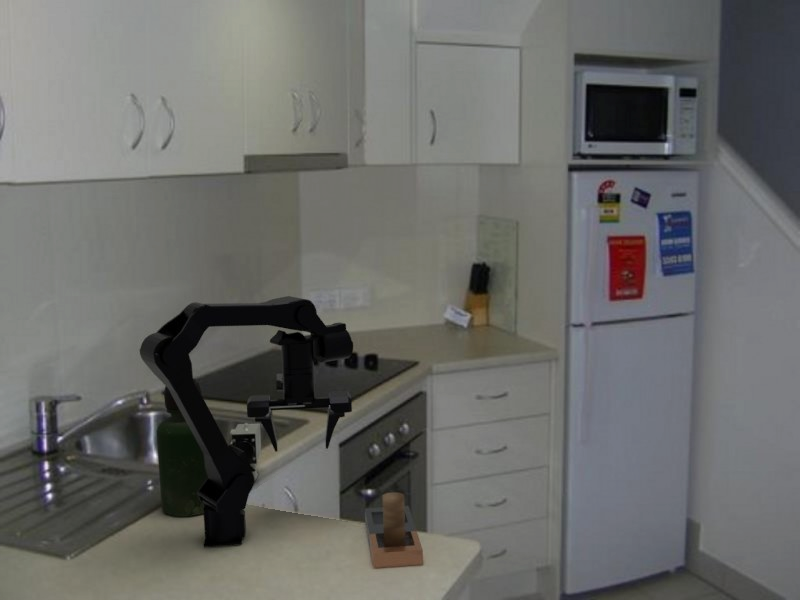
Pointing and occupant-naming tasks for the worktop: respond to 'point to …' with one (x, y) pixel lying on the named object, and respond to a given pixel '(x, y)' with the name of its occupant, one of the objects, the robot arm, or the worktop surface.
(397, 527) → the walnut peg
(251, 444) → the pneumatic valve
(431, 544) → the worktop surface
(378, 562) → the grey copper flat frame
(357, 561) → the worktop surface
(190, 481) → the spray bottle
